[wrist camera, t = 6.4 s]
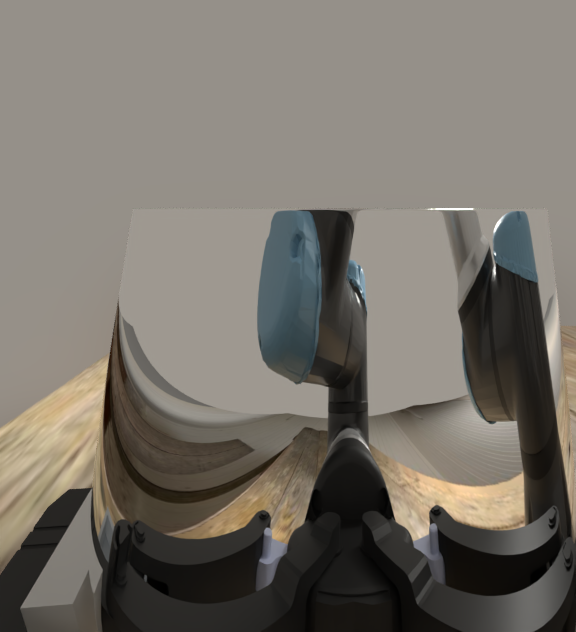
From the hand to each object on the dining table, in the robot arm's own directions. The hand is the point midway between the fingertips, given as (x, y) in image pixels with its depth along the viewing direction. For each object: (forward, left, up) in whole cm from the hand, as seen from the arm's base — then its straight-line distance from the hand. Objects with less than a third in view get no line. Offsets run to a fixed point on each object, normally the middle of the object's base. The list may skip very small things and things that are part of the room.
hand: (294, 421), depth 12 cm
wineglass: (0, +5, -11) cm, 12 cm away
